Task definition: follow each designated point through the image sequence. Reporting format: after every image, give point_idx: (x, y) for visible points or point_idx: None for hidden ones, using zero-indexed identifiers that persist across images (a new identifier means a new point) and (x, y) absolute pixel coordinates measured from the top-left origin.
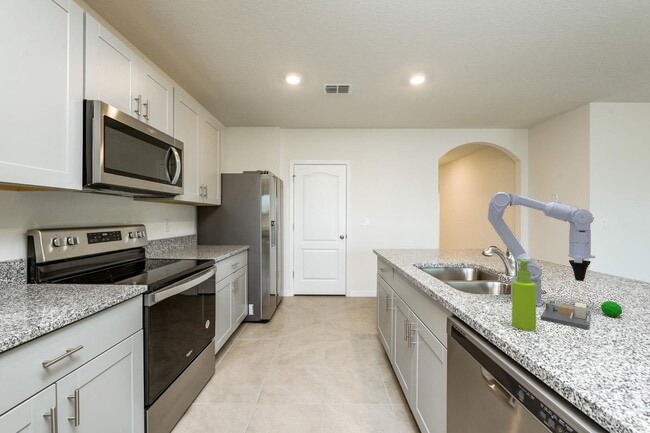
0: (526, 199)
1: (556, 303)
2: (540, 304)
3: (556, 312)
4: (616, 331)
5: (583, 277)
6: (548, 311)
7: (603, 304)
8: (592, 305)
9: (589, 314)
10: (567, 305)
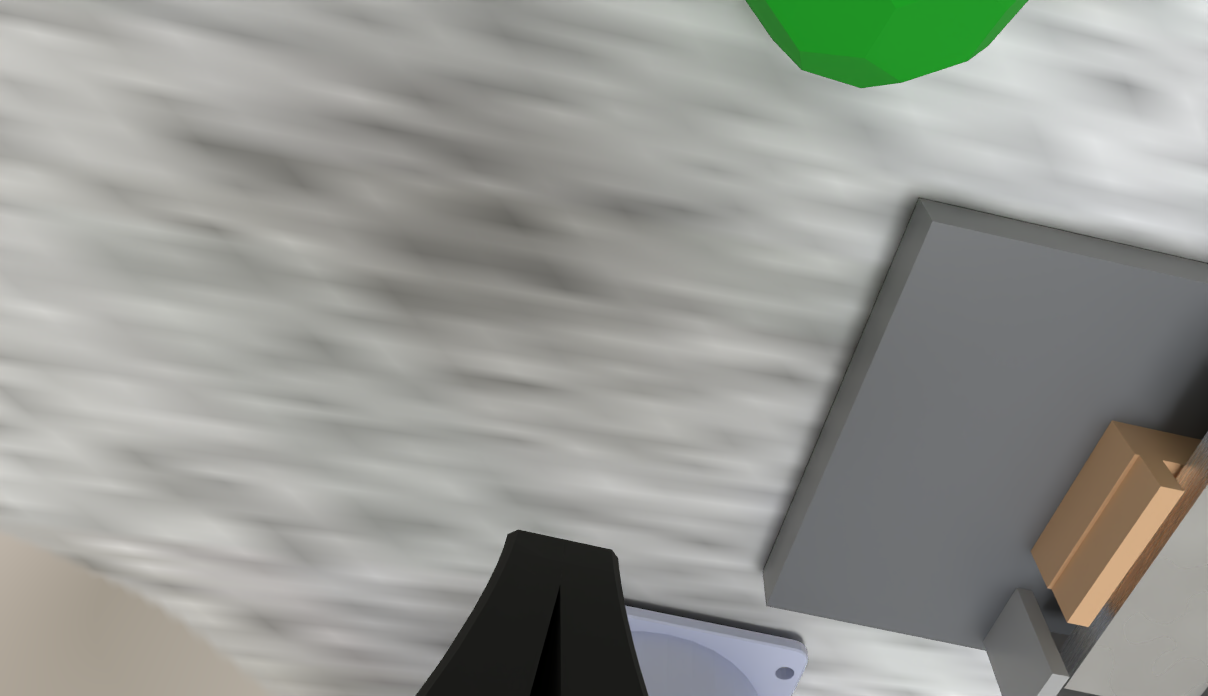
0: None
1: (1107, 653)
2: (778, 652)
3: None
4: None
5: (630, 642)
6: None
7: (925, 73)
8: (253, 31)
9: (1174, 279)
10: (1172, 563)
